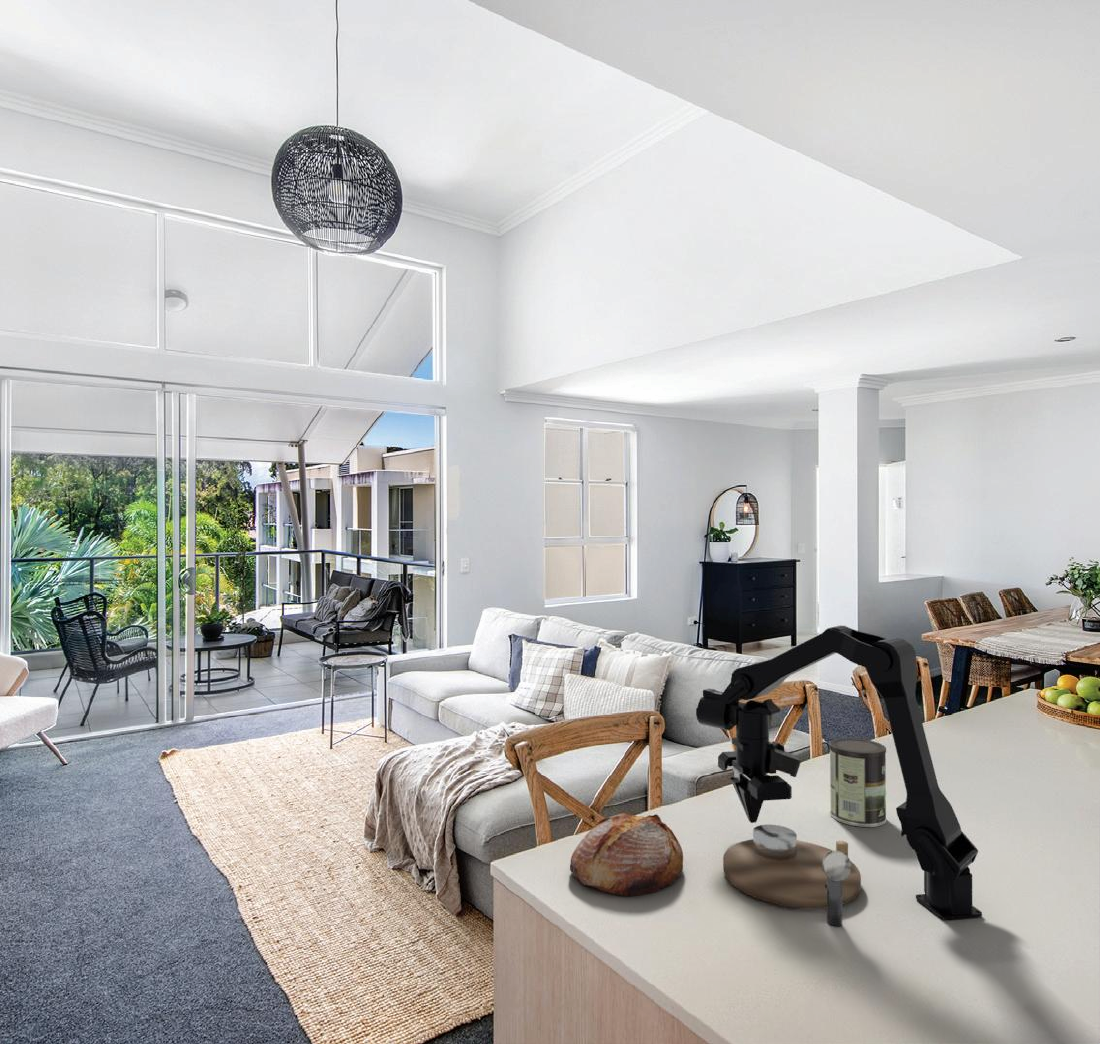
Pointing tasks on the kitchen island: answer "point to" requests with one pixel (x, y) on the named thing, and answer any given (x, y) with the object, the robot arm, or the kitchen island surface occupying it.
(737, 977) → the kitchen island surface
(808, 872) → the disc
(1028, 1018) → the kitchen island surface
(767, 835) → the cover
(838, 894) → the ice cream scoop
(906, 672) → the robot arm
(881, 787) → the coffee can
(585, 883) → the bread
